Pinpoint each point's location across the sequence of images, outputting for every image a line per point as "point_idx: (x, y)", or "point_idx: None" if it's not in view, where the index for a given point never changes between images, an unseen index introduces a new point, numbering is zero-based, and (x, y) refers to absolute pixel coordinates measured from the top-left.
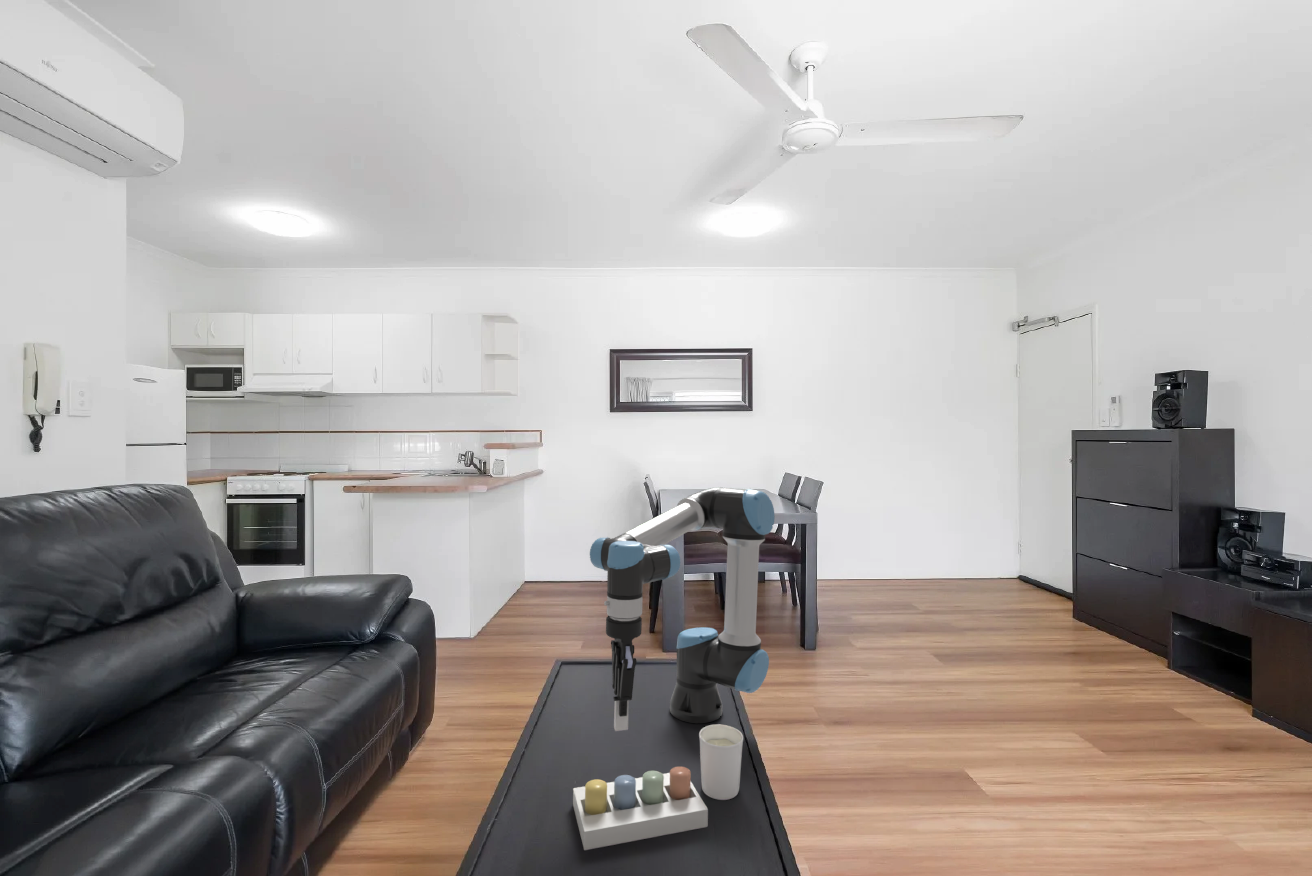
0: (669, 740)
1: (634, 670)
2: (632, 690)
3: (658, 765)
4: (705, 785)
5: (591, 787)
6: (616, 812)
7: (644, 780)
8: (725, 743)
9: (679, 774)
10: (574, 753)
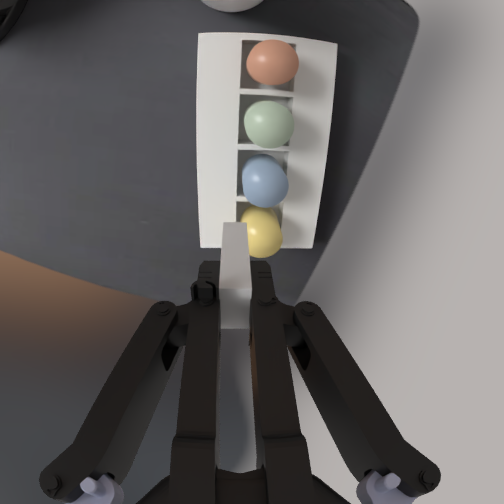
0: (54, 45)
1: (399, 432)
2: (341, 340)
3: (122, 71)
4: (243, 8)
5: (263, 248)
6: (288, 195)
7: (276, 147)
8: None
9: (281, 66)
10: (70, 214)
